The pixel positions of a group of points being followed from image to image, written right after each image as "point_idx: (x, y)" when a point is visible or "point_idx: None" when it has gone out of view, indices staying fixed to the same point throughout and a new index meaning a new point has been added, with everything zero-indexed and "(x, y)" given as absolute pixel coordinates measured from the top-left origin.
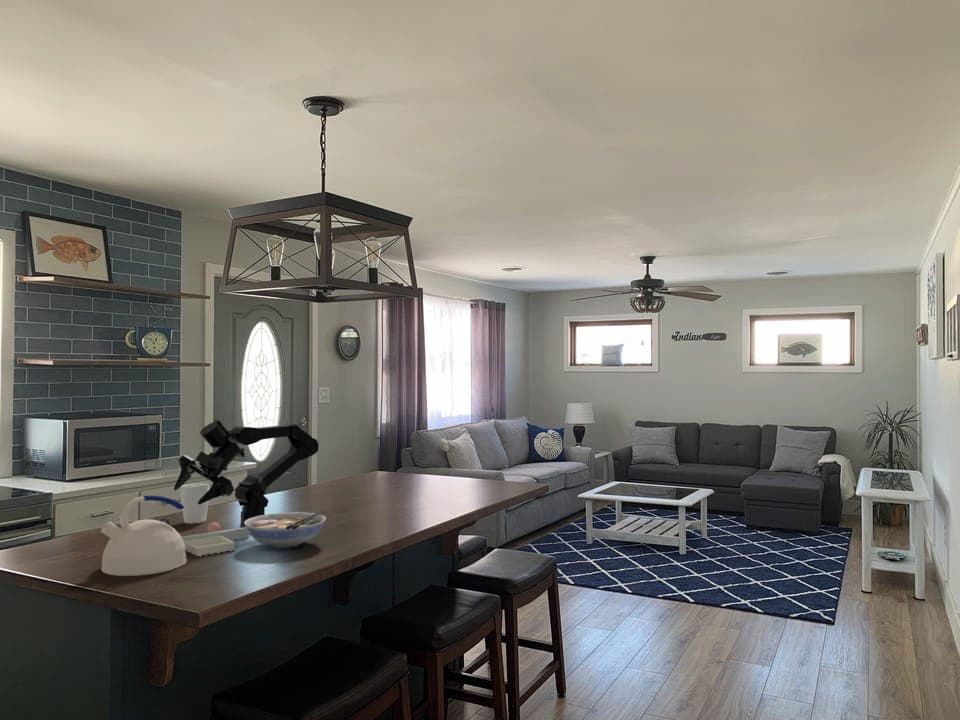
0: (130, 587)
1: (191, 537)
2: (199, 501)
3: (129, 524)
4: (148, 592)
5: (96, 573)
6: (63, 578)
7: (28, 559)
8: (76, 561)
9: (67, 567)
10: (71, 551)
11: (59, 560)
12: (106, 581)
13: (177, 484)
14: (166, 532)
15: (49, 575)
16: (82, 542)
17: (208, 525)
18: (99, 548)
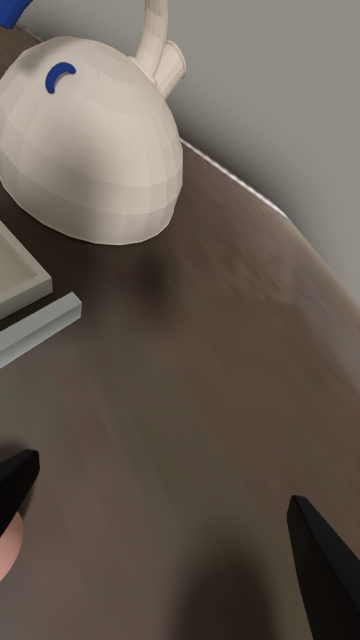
0: None
1: (36, 313)
2: (19, 455)
3: (139, 62)
4: (14, 40)
5: None
6: (189, 154)
7: (308, 263)
8: (237, 236)
9: (224, 205)
10: (294, 305)
11: (265, 248)
12: None
13: (320, 537)
14: (28, 49)
15: (218, 174)
16: (332, 380)
17: (6, 531)
18: (267, 325)
